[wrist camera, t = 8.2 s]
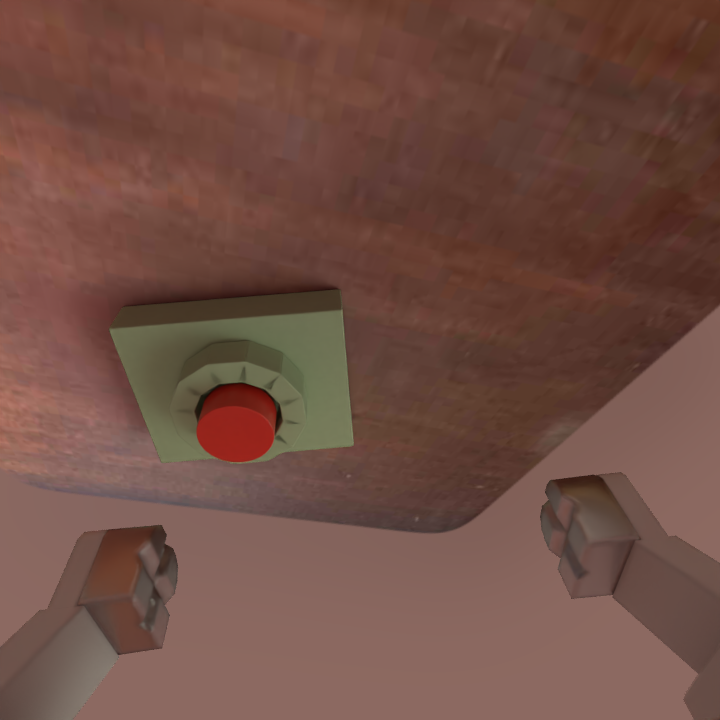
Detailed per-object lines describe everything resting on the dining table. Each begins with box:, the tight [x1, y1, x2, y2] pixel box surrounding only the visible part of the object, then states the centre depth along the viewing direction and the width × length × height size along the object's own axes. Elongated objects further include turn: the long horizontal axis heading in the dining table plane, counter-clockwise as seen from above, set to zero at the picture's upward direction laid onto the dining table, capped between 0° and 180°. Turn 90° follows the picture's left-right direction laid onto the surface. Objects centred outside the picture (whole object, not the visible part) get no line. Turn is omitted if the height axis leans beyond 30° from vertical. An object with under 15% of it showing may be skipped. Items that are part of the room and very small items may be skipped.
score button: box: [196, 383, 277, 462], centre depth 25 cm, size 4×4×2 cm
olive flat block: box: [109, 289, 354, 464], centre depth 27 cm, size 11×9×4 cm
